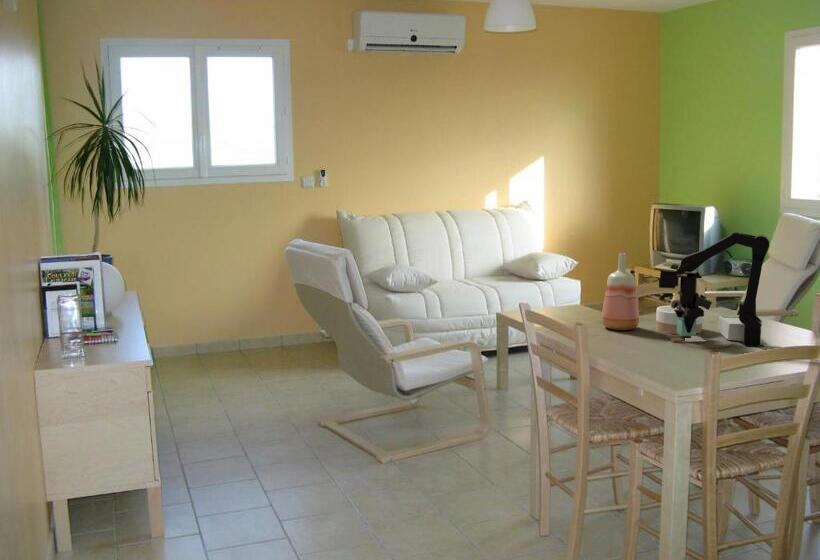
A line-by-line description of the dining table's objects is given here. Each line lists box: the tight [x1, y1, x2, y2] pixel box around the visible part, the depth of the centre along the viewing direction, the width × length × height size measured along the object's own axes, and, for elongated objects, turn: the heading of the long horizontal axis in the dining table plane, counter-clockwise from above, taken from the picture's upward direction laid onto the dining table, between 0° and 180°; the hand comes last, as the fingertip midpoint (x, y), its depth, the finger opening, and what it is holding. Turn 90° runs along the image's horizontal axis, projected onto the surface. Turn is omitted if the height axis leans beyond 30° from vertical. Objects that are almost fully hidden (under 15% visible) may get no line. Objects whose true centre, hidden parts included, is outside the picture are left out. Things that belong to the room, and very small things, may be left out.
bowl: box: [655, 305, 703, 335], centre depth 344 cm, size 17×17×8 cm
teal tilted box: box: [677, 317, 696, 336], centre depth 327 cm, size 5×5×6 cm
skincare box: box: [717, 315, 745, 342], centre depth 332 cm, size 8×7×16 cm
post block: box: [665, 334, 706, 343], centre depth 327 cm, size 9×12×7 cm
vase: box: [600, 252, 640, 331], centre depth 345 cm, size 14×14×30 cm
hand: (686, 331), depth 327 cm, fingers closed on teal tilted box, 5 cm apart
